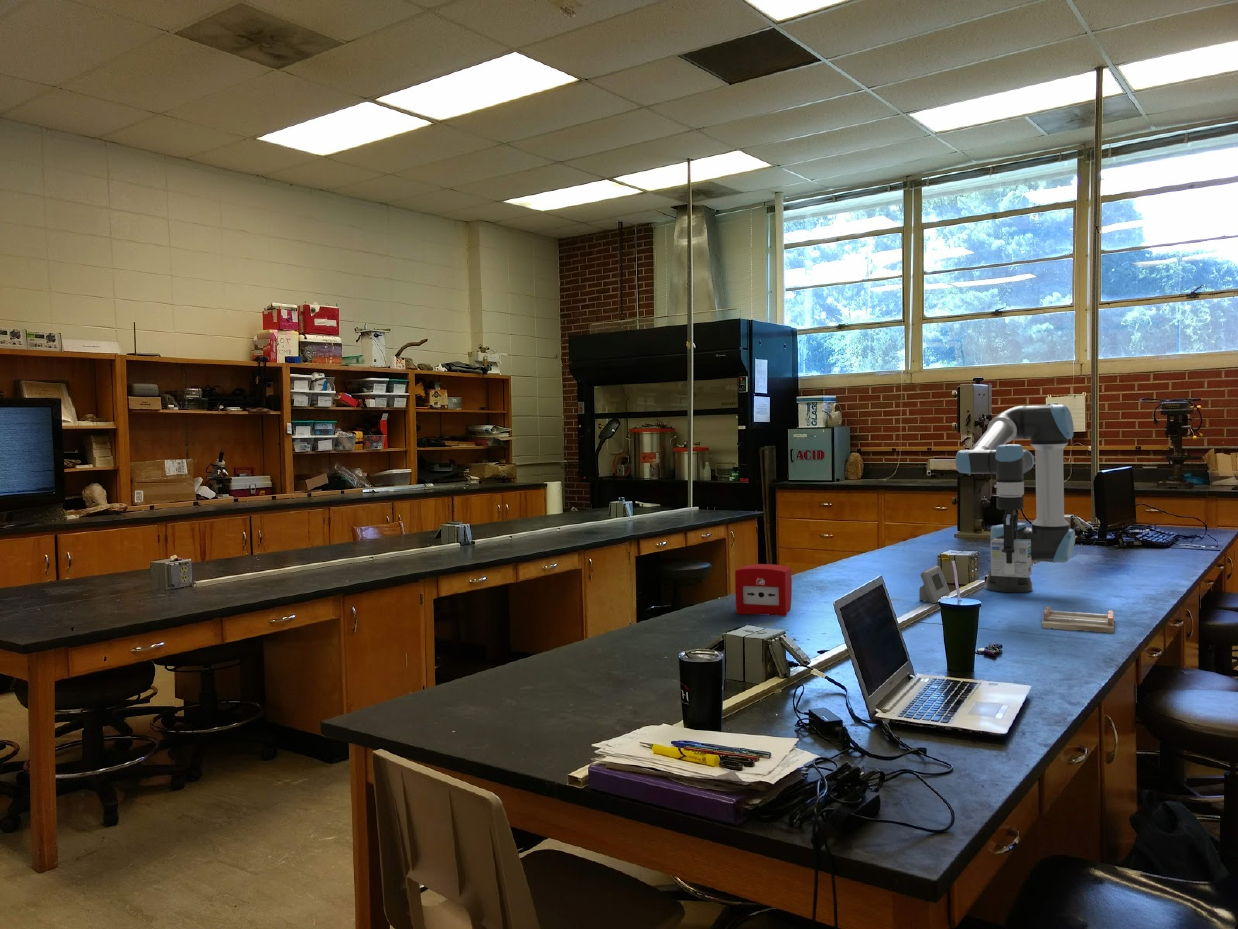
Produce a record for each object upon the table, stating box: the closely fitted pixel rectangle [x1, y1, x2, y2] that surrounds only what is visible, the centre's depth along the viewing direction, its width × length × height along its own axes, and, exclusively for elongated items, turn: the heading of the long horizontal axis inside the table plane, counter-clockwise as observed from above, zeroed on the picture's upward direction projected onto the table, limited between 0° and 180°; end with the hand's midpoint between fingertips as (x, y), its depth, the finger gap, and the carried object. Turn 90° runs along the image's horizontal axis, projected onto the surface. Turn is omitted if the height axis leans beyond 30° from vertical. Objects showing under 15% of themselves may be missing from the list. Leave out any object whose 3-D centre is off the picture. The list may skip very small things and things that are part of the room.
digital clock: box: [918, 565, 951, 604], centre depth 297 cm, size 16×9×11 cm, turn 133°
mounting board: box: [1041, 614, 1115, 634], centre depth 257 cm, size 18×18×2 cm
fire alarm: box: [734, 563, 793, 617], centre depth 286 cm, size 16×11×15 cm
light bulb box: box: [989, 538, 1032, 578], centre depth 265 cm, size 11×7×11 cm, turn 58°
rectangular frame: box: [1043, 605, 1114, 625], centre depth 257 cm, size 11×18×2 cm, turn 60°
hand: (1011, 571), depth 265 cm, fingers closed on light bulb box, 7 cm apart
